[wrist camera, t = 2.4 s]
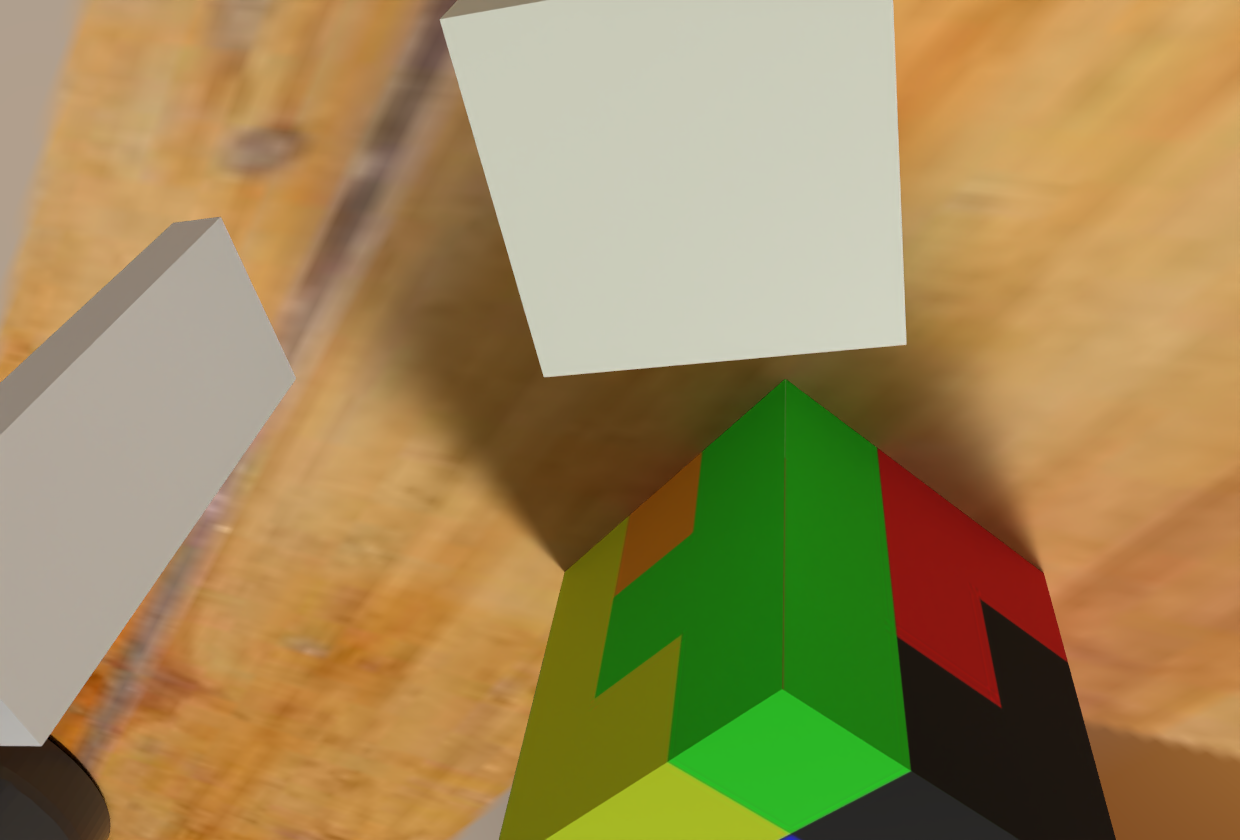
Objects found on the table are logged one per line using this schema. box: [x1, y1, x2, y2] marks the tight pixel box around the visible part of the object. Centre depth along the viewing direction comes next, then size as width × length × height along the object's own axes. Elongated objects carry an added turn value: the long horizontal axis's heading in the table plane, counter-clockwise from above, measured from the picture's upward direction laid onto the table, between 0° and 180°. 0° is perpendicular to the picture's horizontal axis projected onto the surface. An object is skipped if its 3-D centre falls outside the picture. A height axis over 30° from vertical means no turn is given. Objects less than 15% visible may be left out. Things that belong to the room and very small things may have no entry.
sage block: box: [440, 0, 907, 377], centre depth 18 cm, size 6×6×8 cm
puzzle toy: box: [499, 379, 1116, 840], centre depth 27 cm, size 10×10×10 cm
